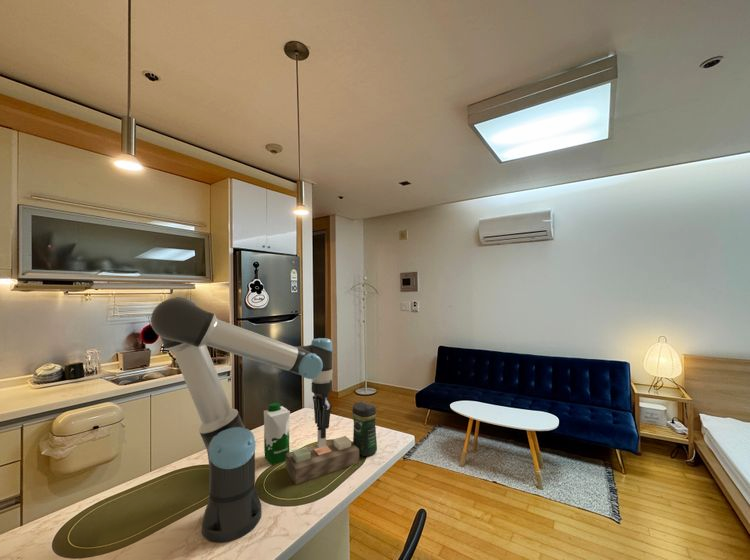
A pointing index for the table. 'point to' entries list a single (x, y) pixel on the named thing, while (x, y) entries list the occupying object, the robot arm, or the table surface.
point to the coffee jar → (364, 428)
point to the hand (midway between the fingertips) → (321, 445)
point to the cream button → (342, 443)
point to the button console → (321, 462)
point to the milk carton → (276, 433)
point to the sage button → (301, 455)
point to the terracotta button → (322, 451)
